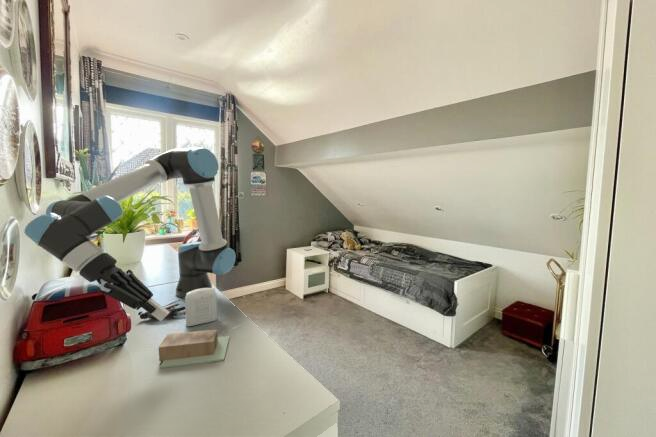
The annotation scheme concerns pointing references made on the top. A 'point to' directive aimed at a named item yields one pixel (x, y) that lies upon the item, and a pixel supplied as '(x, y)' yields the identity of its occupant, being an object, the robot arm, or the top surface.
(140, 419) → the top surface
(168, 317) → the action figure
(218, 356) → the mat
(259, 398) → the top surface
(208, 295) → the photo printer
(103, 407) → the top surface
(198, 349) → the walnut block
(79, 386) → the top surface
